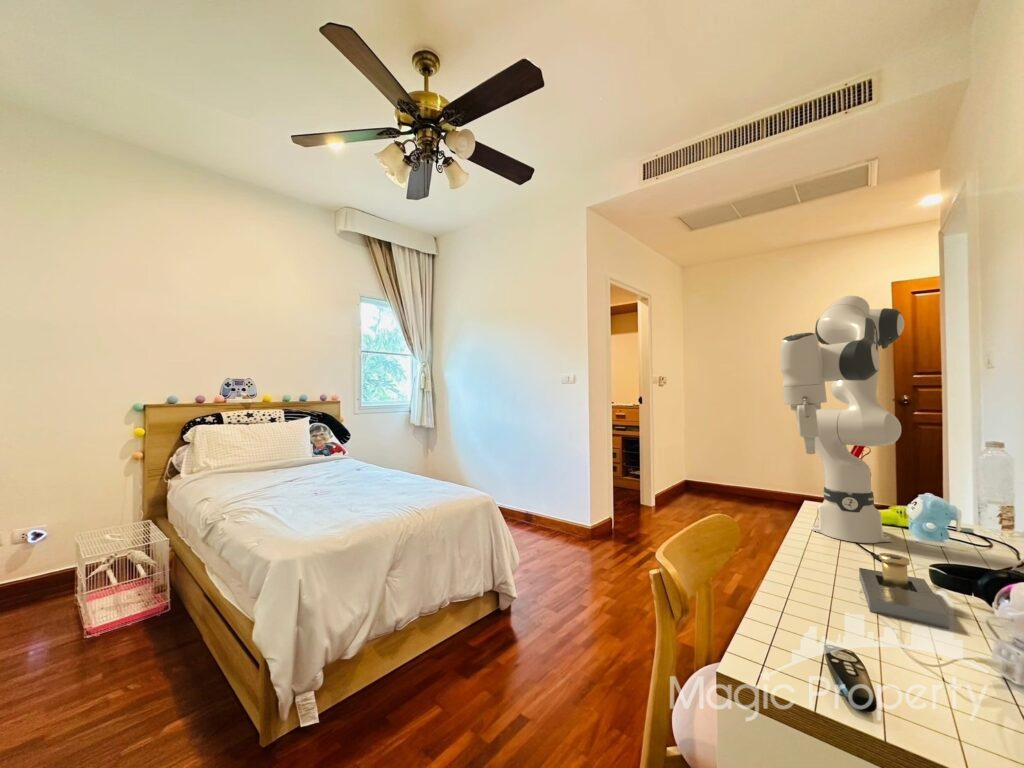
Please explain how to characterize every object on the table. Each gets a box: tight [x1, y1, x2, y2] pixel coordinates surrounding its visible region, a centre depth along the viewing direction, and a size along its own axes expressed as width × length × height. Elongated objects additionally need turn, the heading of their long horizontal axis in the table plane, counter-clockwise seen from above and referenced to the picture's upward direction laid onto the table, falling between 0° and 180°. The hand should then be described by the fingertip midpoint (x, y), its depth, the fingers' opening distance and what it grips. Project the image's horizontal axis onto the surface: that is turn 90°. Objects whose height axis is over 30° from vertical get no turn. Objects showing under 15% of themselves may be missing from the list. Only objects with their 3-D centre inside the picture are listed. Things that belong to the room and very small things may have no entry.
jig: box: [858, 567, 950, 630], centre depth 86 cm, size 18×11×2 cm, turn 145°
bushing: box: [878, 552, 910, 590], centre depth 89 cm, size 5×5×8 cm
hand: (810, 450), depth 104 cm, fingers open, 8 cm apart
